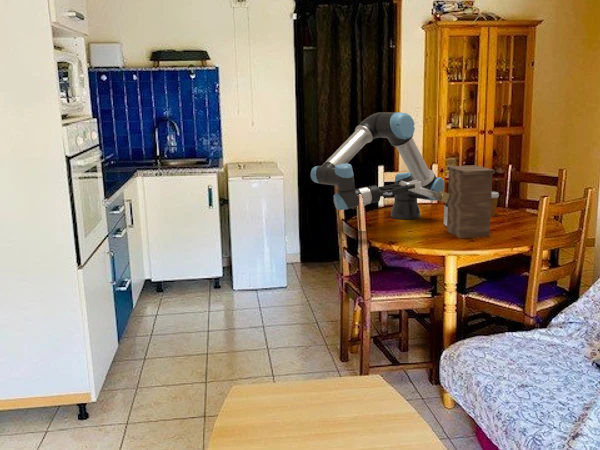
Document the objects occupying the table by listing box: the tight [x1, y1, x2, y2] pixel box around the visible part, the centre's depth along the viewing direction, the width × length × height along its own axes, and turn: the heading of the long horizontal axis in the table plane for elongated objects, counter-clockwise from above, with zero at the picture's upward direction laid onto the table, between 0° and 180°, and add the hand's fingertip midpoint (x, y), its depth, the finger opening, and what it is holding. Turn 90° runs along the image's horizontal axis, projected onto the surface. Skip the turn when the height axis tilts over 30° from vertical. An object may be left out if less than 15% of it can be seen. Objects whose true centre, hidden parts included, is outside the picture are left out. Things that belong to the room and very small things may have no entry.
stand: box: [446, 164, 496, 239], centre depth 269 cm, size 18×14×30 cm
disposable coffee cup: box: [490, 191, 500, 218], centre depth 309 cm, size 10×10×12 cm
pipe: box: [399, 180, 450, 204], centre depth 265 cm, size 4×24×4 cm, turn 102°
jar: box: [443, 203, 448, 227], centre depth 289 cm, size 9×8×12 cm
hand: (419, 183), depth 264 cm, fingers closed on pipe, 3 cm apart
